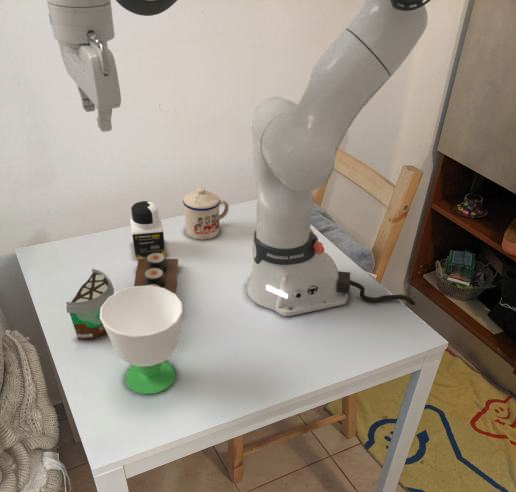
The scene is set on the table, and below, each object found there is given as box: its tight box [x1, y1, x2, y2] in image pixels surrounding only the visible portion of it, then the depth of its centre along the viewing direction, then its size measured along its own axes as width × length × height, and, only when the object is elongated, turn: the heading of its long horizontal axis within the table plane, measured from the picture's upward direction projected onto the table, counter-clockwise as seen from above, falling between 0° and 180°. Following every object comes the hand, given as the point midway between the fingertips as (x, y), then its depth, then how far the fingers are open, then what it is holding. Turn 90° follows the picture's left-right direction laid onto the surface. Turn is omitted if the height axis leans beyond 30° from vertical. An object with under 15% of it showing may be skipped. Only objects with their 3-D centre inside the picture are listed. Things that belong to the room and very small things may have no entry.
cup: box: [100, 285, 184, 395], centre depth 97 cm, size 14×14×16 cm
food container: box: [65, 268, 115, 341], centre depth 109 cm, size 12×6×10 cm, turn 168°
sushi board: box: [133, 253, 179, 295], centre depth 120 cm, size 9×20×5 cm, turn 4°
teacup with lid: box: [182, 187, 230, 241], centre depth 138 cm, size 12×9×12 cm
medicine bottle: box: [129, 200, 166, 260], centre depth 130 cm, size 7×7×12 cm
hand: (97, 119), depth 90 cm, fingers open, 8 cm apart
